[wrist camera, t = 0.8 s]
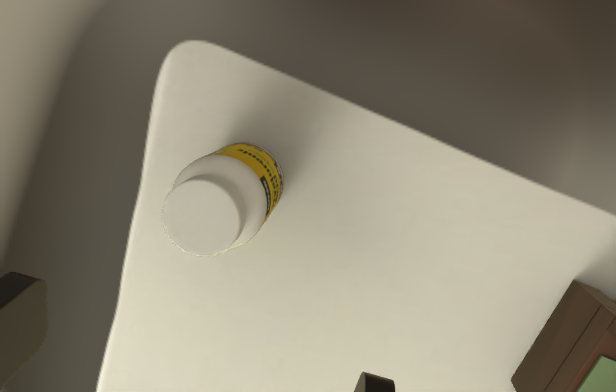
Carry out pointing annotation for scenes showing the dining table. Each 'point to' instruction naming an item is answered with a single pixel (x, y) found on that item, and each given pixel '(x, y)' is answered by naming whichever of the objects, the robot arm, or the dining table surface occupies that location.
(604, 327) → the shelf
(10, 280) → the robot arm
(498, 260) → the dining table surface
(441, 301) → the dining table surface
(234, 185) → the supplement bottle
